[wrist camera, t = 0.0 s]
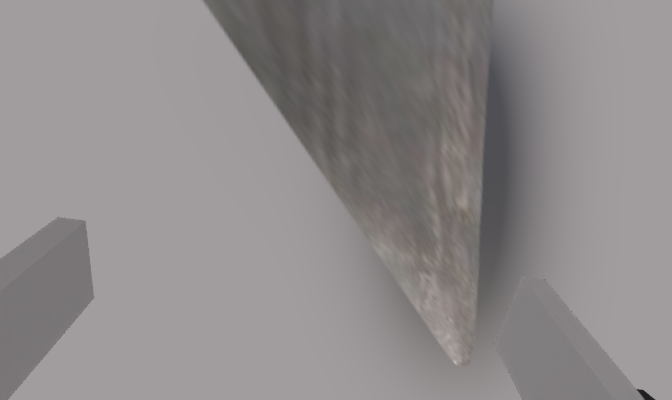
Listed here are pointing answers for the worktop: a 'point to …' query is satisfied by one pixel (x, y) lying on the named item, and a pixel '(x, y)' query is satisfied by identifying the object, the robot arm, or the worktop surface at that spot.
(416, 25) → the worktop surface
